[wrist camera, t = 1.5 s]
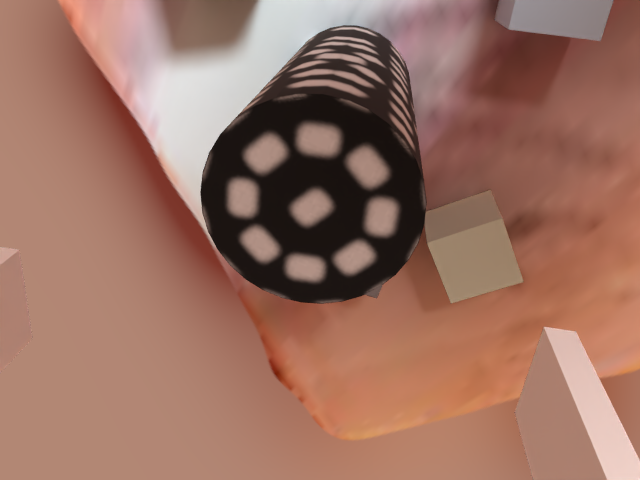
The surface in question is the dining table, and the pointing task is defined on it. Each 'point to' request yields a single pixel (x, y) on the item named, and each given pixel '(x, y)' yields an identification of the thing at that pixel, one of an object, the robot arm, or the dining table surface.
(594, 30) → the dusty blue block
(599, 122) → the dining table surface
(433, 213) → the sage block
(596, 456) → the robot arm
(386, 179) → the spotted tube
